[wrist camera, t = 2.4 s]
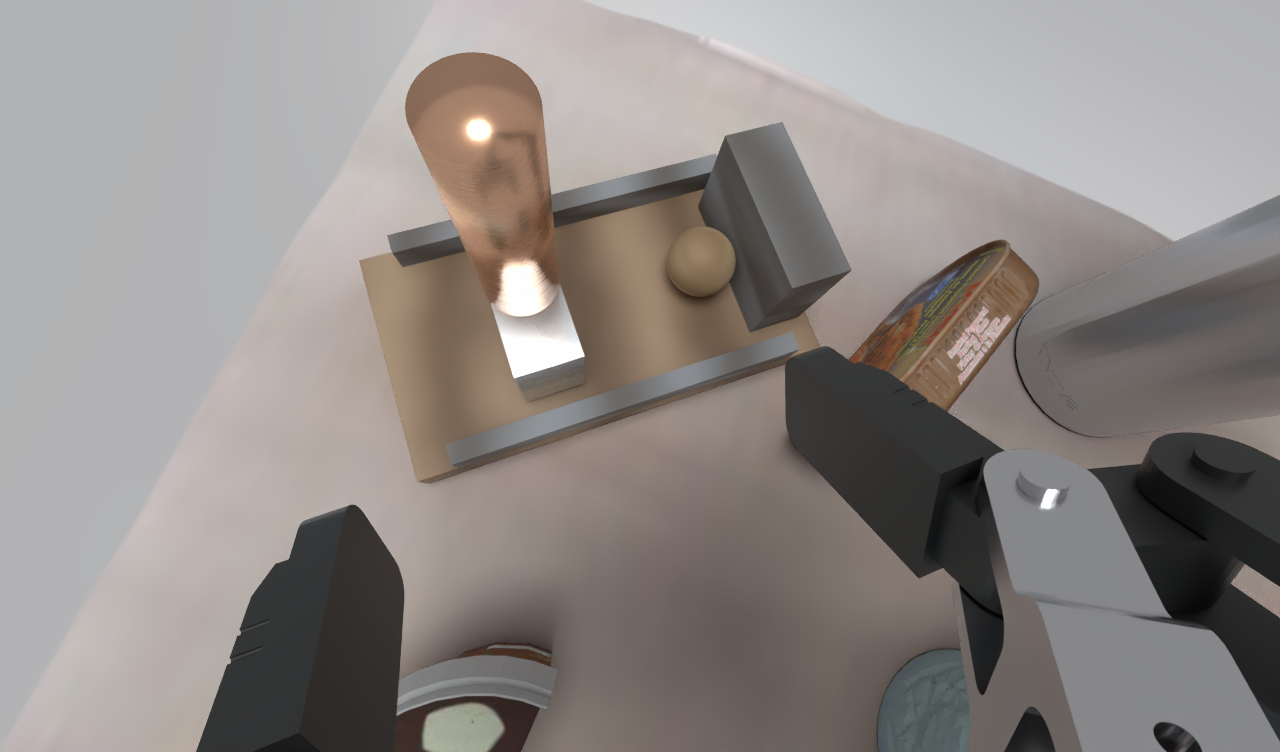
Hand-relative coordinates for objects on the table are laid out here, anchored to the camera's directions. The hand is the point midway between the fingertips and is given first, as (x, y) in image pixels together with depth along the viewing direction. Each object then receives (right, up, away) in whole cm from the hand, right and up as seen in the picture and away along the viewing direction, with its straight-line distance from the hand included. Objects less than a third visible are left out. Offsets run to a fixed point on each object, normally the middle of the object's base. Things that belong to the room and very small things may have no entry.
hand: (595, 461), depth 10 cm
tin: (+14, +2, +22) cm, 26 cm away
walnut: (+4, +7, +19) cm, 21 cm away
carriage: (-5, +4, +17) cm, 19 cm away
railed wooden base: (-2, +5, +20) cm, 21 cm away
